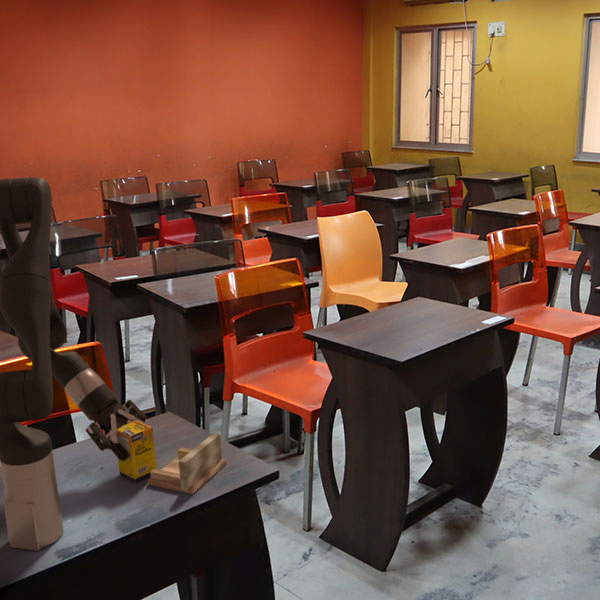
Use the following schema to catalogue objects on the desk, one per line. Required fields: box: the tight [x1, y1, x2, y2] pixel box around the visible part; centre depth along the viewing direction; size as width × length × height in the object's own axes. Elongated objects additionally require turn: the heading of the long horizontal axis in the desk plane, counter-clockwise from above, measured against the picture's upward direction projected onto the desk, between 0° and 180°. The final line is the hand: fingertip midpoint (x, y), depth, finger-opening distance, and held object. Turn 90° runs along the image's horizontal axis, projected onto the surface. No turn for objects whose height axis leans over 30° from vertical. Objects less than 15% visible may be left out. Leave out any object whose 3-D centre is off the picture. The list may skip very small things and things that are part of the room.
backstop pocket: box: [147, 432, 227, 495], centre depth 164 cm, size 14×11×7 cm
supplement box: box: [116, 420, 158, 483], centre depth 165 cm, size 6×6×11 cm
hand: (138, 449), depth 165 cm, fingers open, 8 cm apart
